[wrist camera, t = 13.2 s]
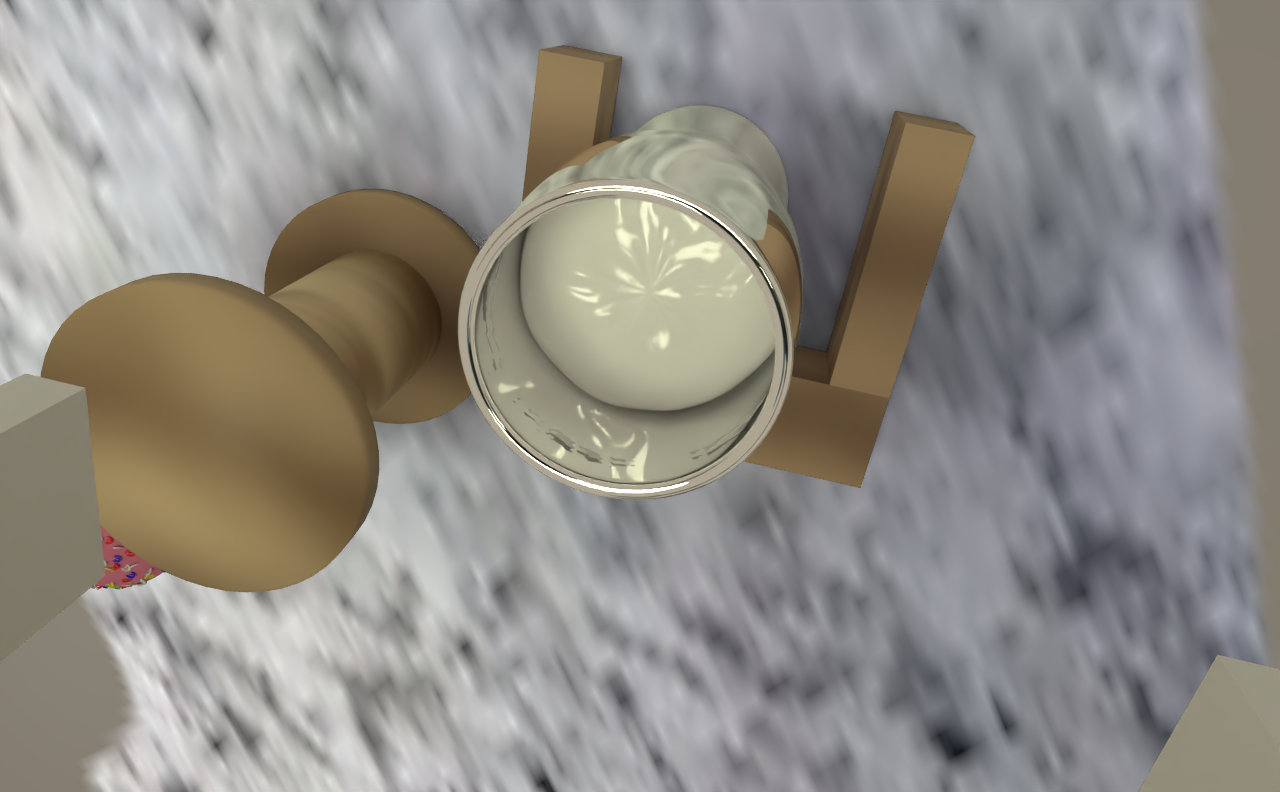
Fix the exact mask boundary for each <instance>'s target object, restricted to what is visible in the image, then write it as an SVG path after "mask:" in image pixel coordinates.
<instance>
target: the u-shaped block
mask: <svg viewBox="0 0 1280 792" xmlns="http://www.w3.org/2000/svg"><path fill="white" fill-rule="evenodd" d="M621 62H622V57H620V56H615V55H610V54H605V53H600V52H595V51H589V50H584V49H579V48H574V47H569V46H564V45H562V46H557V47H552V48H547V49H542V50H539V59H538V68H537V77H536V85H535V94H534V103H533V112H532V120H531V129H530V138H529V147H528V155H527V164H526V173H525V182H524V190H523V199H522V202H523V201H524V199H525V198H526V197H527V196H528V195H529V194H530V193H531V192H532V191H533V190H534V189H535V188H536V187H537V186H538V185H539V184H540V183H541V182H542V181H543V180H545V179H546V178H547V177H548V176H549V175H550V174H551V173H553V172H554V171H555V170H556V169H557V168H558V167H560V166H561V165H562V164H564V163H565V162H566V161H568V160H569V159H571V158H572V157H574V156H576V155H577V154H579V153H581V152H583V151H585V150H587V149H589V148H590V147H592V146H594V145H596V144H598V143H600V142H602V141H605V140H607V139H610V134H611V127H612V121H613V114H614V108H615V101H616V95H617V88H618V82H619V75H620V68H621ZM974 138H975V136H974V135H973V134H971V133H970V132H969V131H967V130H966V129H965V128H963V127H962V126H961V125H959V124H958V123H954V122H949V121H944V120H939V119H934V118H929V117H923V116H918V115H913V114H908V113H903V112H898V111H895V114H894V117H893V121H892V124H891V128H890V131H889V135H888V138H887V142H886V145H885V149H884V152H883V156H882V159H881V163H880V166H879V170H878V173H877V177H876V181H875V184H874V188H873V191H872V195H871V198H870V202H869V205H868V209H867V212H866V216H865V219H864V223H863V226H862V230H861V233H860V237H859V240H858V244H857V247H856V251H855V254H854V258H853V261H852V265H851V268H850V272H849V275H848V279H847V282H846V286H845V289H844V293H843V296H842V300H841V303H840V307H839V311H838V314H837V318H836V321H835V325H834V328H833V332H832V335H831V339H830V342H829V346H828V349H827V352H823V351H818V350H814V349H809V348H804V347H800V346H796V351H795V355H794V359H793V369H792V375H791V381H790V385H789V389H788V393H787V396H786V399H785V402H784V404H783V407H782V409H781V411H780V413H779V416H778V418H777V419H776V421H775V423H774V425H773V426H772V428H771V430H770V431H769V433H768V434H767V436H766V437H765V438H764V440H763V441H762V442H761V444H760V445H759V446H758V447H757V448H756V449H755V450H754V451H753V452H752V453H751V454H750V455H749V456H748V457H747V458H746V459H745V460H744V461H745V462H749V463H754V464H758V465H762V466H767V467H771V468H775V469H780V470H784V471H788V472H793V473H797V474H802V475H806V476H810V477H815V478H819V479H823V480H828V481H832V482H837V483H841V484H845V485H850V486H854V487H858V488H861V484H862V481H863V478H864V475H865V472H866V469H867V466H868V463H869V460H870V457H871V454H872V451H873V448H874V445H875V442H876V438H877V435H878V432H879V429H880V426H881V423H882V420H883V417H884V414H885V411H886V408H887V405H888V402H889V399H890V395H891V392H892V389H893V386H894V383H895V380H896V377H897V374H898V371H899V368H900V365H901V362H902V359H903V356H904V353H905V349H906V346H907V343H908V340H909V337H910V334H911V331H912V328H913V325H914V322H915V319H916V316H917V313H918V310H919V307H920V303H921V300H922V297H923V294H924V291H925V288H926V285H927V282H928V279H929V276H930V273H931V270H932V267H933V264H934V261H935V257H936V254H937V251H938V248H939V245H940V242H941V239H942V236H943V233H944V230H945V227H946V224H947V221H948V218H949V215H950V211H951V208H952V205H953V202H954V199H955V196H956V193H957V190H958V187H959V184H960V181H961V178H962V175H963V172H964V168H965V165H966V162H967V159H968V156H969V153H970V150H971V147H972V144H973V141H974Z"/></svg>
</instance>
